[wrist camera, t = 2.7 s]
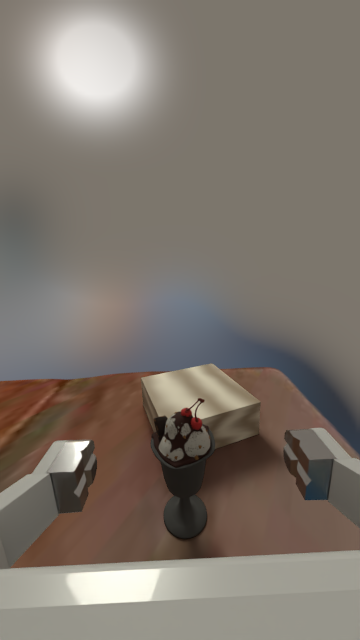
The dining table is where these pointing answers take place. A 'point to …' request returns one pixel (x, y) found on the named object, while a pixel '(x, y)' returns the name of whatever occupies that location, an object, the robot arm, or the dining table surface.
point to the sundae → (183, 468)
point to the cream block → (216, 411)
